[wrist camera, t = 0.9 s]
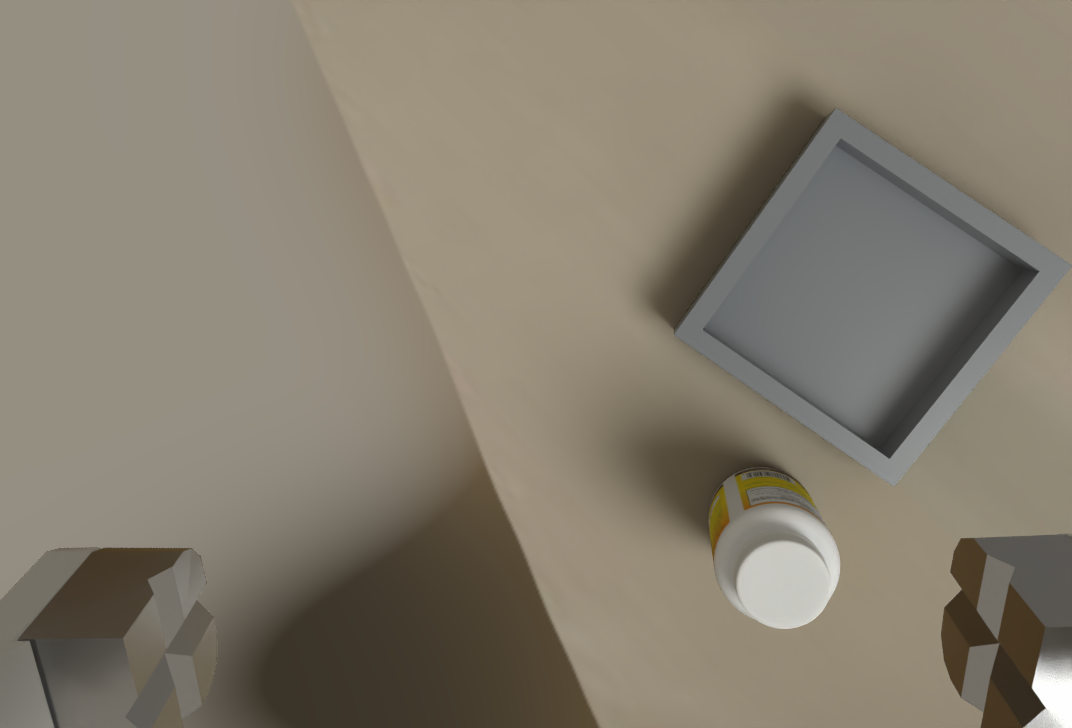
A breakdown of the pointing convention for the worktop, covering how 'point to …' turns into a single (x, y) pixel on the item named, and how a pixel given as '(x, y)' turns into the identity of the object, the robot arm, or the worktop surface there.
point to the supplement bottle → (772, 548)
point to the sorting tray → (868, 297)
